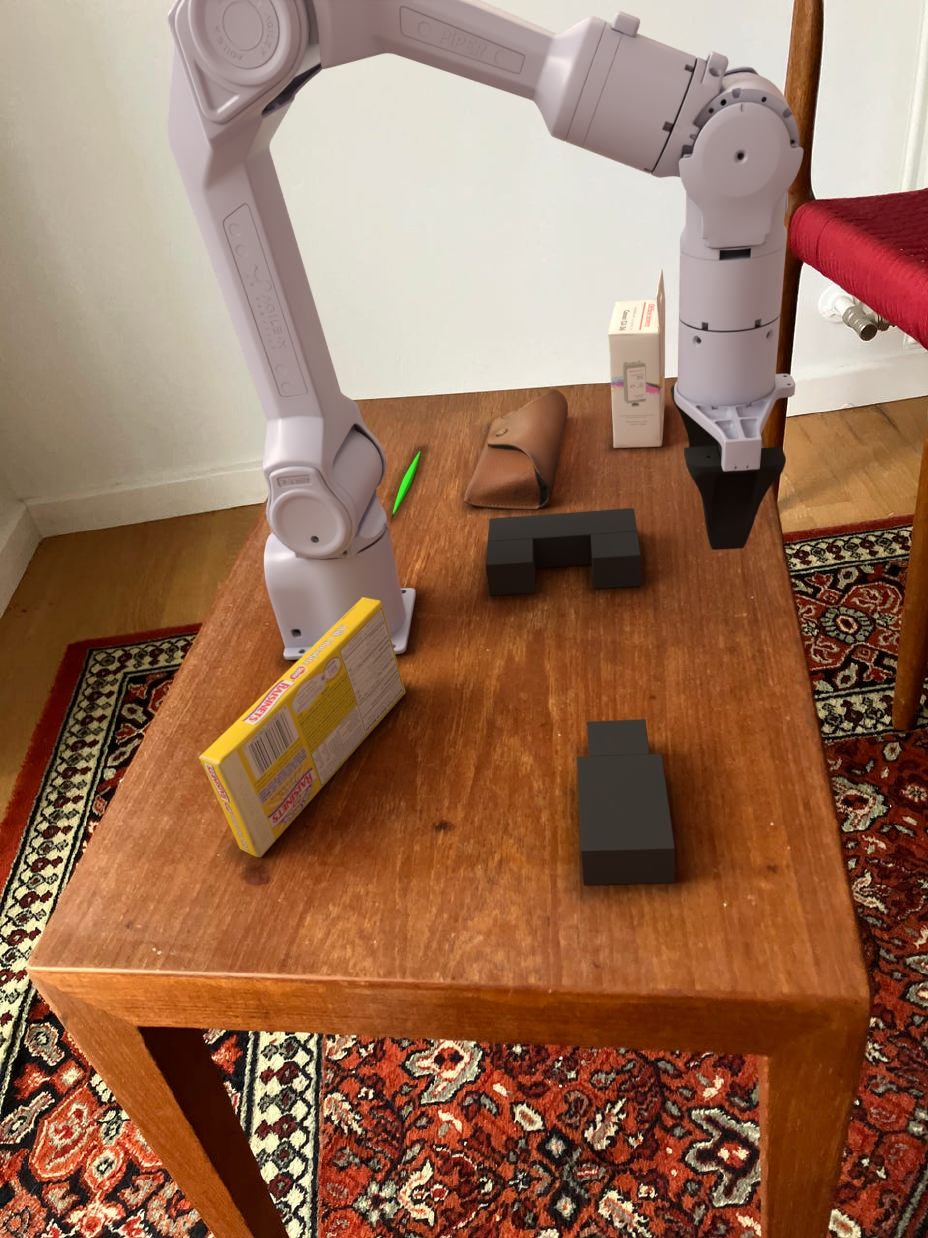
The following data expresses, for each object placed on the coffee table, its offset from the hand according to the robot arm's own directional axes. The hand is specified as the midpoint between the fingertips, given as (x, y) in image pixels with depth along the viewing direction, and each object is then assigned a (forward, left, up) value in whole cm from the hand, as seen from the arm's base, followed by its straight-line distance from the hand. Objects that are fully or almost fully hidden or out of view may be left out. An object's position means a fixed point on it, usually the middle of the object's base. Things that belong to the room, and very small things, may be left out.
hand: (719, 514), depth 63 cm
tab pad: (-8, -17, -10) cm, 21 cm away
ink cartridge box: (-3, +33, -10) cm, 34 cm away
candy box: (-27, -12, -10) cm, 31 cm away
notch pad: (-11, +9, -10) cm, 17 cm away
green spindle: (-26, +26, -10) cm, 38 cm away
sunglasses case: (-15, +28, -10) cm, 33 cm away
